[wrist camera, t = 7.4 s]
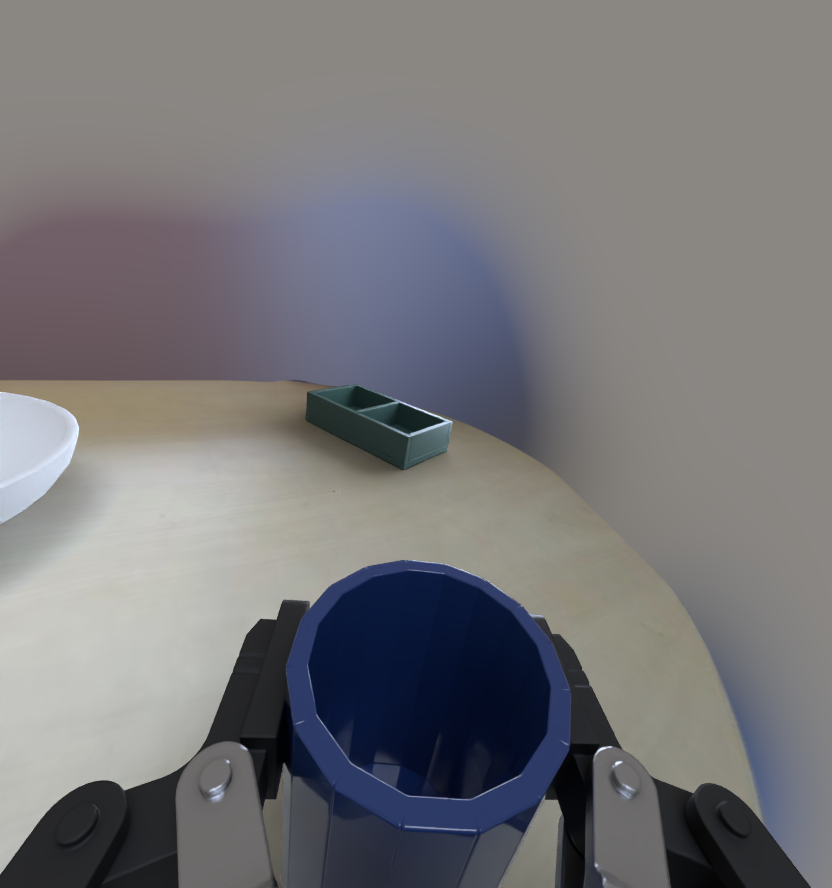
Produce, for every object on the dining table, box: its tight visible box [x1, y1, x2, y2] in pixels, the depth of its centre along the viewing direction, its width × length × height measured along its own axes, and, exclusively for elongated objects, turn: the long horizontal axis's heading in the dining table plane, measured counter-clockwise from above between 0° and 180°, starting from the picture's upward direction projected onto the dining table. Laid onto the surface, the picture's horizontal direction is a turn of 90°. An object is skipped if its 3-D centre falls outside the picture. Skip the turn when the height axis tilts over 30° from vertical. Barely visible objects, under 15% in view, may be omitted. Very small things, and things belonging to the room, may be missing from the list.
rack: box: [306, 384, 453, 470], centre depth 48 cm, size 8×16×4 cm, turn 52°
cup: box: [281, 560, 571, 888], centre depth 11 cm, size 6×6×10 cm
